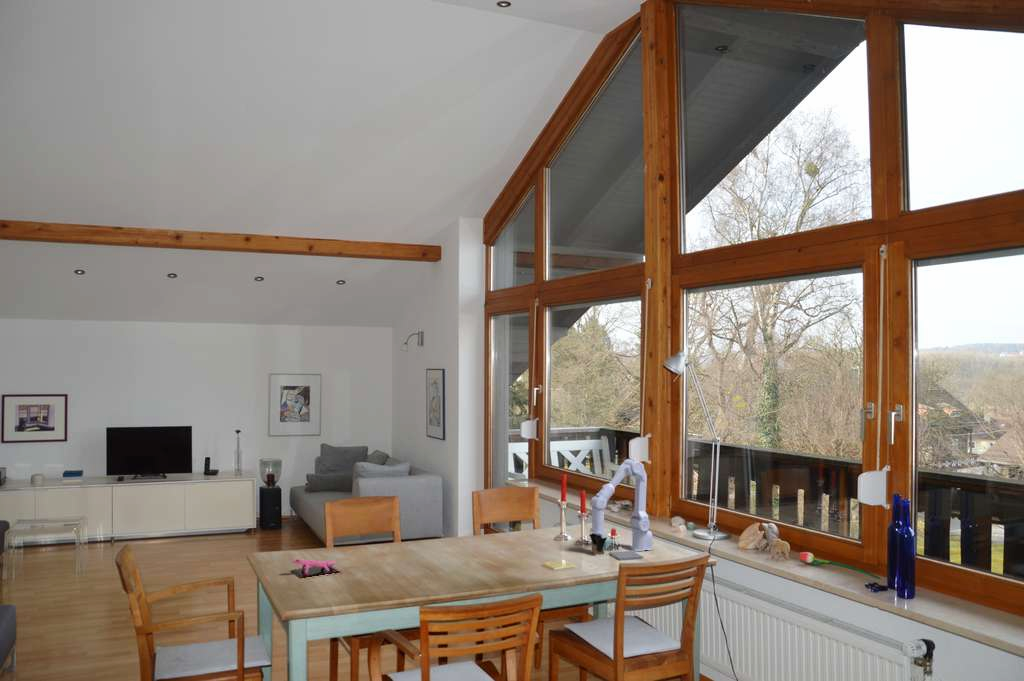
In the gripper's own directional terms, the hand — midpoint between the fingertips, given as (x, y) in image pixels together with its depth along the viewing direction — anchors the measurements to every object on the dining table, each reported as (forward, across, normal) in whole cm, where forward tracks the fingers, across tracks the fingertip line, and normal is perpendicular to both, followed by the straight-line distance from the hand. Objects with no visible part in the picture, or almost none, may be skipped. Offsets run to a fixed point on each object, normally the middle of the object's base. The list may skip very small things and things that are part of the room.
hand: (597, 550), depth 396 cm
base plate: (+1, +10, +10) cm, 14 cm away
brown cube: (+1, 0, 0) cm, 1 cm away
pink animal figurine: (+2, 0, -132) cm, 132 cm away
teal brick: (+2, -8, +9) cm, 12 cm away
